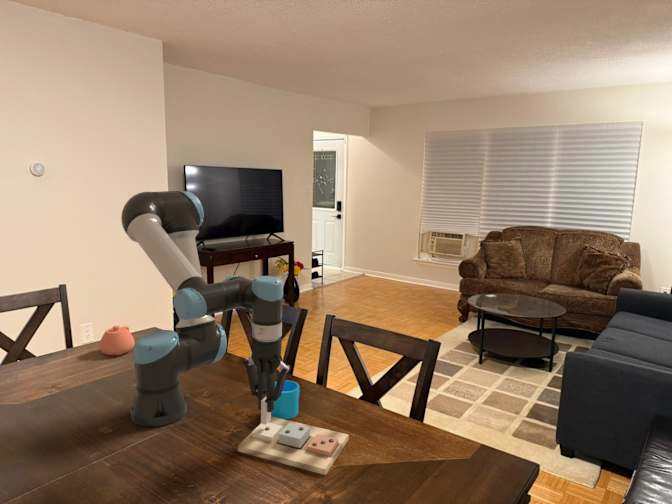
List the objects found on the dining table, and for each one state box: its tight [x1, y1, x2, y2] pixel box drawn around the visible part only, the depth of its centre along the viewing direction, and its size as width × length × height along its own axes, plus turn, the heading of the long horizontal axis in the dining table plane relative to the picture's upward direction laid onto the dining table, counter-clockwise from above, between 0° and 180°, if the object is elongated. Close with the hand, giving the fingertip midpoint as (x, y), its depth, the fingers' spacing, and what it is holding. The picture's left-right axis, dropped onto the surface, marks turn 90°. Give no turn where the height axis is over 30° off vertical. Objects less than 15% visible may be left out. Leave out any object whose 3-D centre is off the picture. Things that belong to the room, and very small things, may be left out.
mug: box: [271, 379, 301, 420], centre depth 140 cm, size 12×8×8 cm
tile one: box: [251, 423, 283, 443], centre depth 125 cm, size 6×6×3 cm
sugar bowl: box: [98, 325, 136, 356], centre depth 181 cm, size 12×14×10 cm
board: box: [237, 415, 350, 476], centre depth 122 cm, size 24×16×2 cm, turn 69°
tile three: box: [307, 434, 338, 457], centre depth 119 cm, size 6×6×3 cm
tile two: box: [279, 422, 310, 449], centre depth 122 cm, size 6×6×3 cm
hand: (265, 421), depth 124 cm, fingers closed
